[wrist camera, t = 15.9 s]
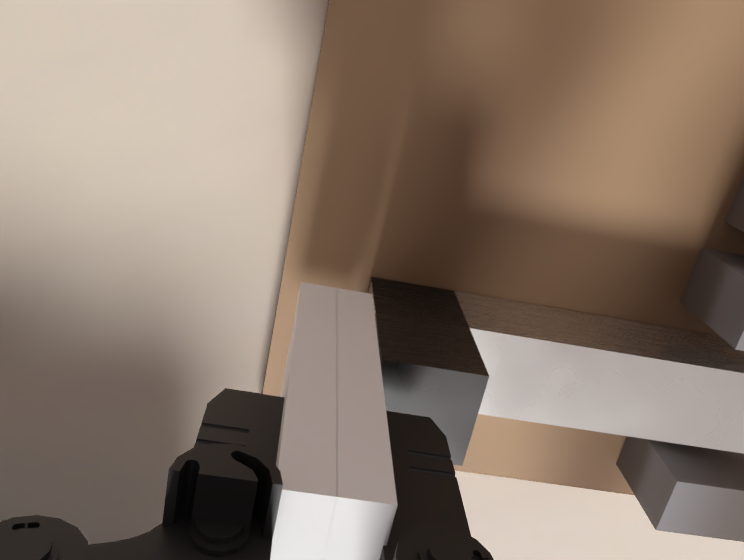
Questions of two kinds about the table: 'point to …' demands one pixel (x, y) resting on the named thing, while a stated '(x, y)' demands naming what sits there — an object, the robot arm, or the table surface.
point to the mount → (539, 197)
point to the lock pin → (552, 369)
